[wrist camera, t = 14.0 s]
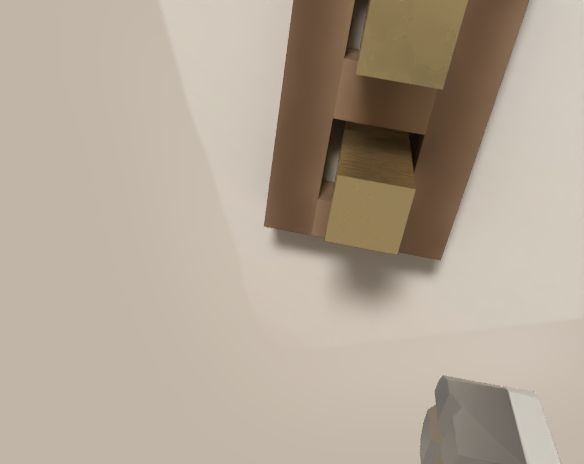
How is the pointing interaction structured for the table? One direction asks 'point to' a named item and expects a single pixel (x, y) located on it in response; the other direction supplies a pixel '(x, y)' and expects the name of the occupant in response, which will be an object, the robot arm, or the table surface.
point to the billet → (371, 188)
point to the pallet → (385, 116)
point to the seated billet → (410, 40)
